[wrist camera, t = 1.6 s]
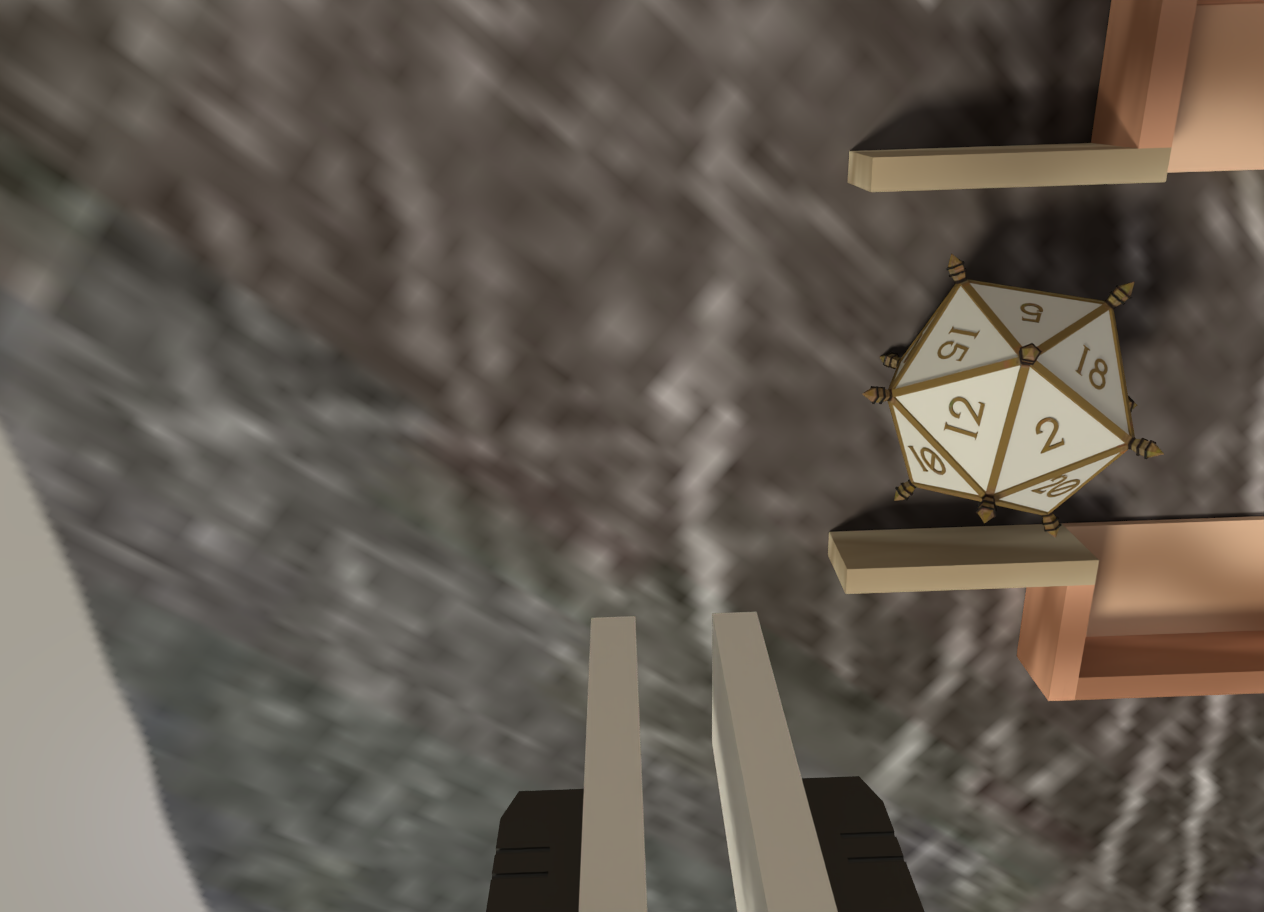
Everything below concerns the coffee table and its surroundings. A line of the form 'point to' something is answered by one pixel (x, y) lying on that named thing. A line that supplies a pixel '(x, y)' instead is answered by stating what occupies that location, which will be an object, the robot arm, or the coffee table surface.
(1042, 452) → the game die
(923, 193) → the coffee table surface
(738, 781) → the robot arm
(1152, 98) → the trap box
